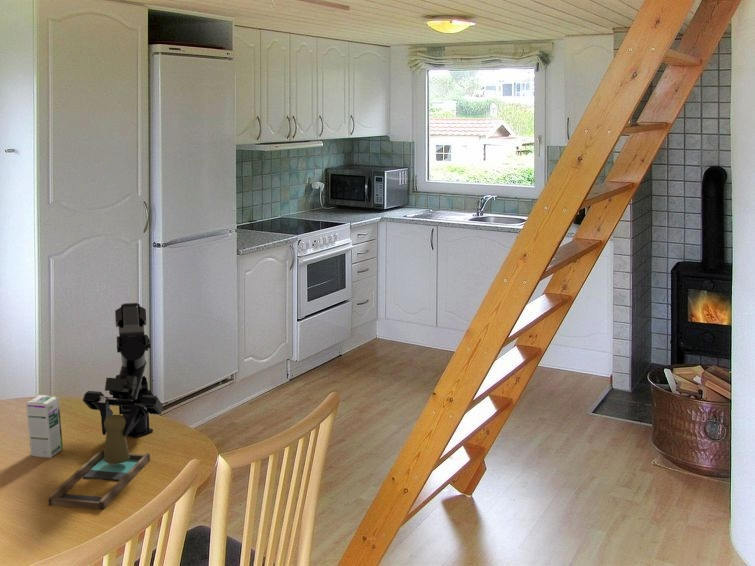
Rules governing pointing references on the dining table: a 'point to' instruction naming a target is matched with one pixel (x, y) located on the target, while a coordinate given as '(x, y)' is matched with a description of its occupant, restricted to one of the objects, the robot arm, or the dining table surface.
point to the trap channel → (85, 471)
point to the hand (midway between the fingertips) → (114, 435)
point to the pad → (114, 466)
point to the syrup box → (44, 426)
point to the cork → (115, 440)
